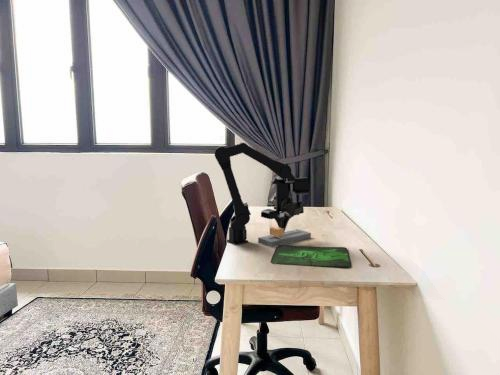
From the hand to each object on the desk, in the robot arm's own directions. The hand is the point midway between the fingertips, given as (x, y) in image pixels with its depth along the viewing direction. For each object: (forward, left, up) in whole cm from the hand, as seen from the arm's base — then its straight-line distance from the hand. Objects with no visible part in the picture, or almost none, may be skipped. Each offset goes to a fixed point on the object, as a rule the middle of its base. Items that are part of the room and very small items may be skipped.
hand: (282, 232), depth 155 cm
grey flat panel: (+1, 0, -4) cm, 4 cm away
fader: (-3, 0, -1) cm, 3 cm away
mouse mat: (-5, -20, -4) cm, 21 cm away
